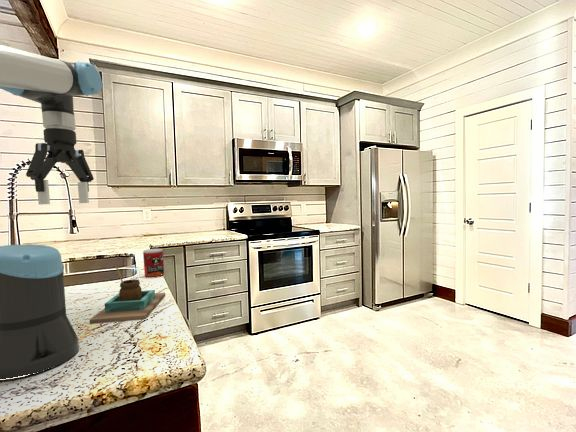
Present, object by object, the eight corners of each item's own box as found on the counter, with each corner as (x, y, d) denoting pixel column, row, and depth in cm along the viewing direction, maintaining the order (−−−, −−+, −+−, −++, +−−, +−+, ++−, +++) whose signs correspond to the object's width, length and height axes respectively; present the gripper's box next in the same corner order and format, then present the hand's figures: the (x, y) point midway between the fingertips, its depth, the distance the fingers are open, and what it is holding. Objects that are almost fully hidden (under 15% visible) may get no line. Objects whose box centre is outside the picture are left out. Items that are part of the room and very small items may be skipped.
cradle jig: (145, 318, 83) (144, 306, 83) (89, 323, 81) (88, 310, 81) (165, 295, 103) (164, 285, 102) (120, 298, 101) (120, 288, 101)
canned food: (147, 279, 125) (145, 252, 125) (142, 275, 132) (141, 250, 131) (166, 275, 130) (165, 250, 129) (161, 272, 136) (160, 247, 136)
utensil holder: (145, 304, 92) (142, 264, 91) (122, 310, 87) (119, 268, 87) (138, 299, 96) (136, 261, 95) (116, 305, 92) (113, 265, 91)
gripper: (82, 138, 101) (87, 203, 103) (3, 120, 77) (10, 205, 78) (103, 137, 100) (107, 202, 102) (29, 118, 76) (36, 204, 77)
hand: (65, 203), depth 90 cm, fingers open, 13 cm apart
